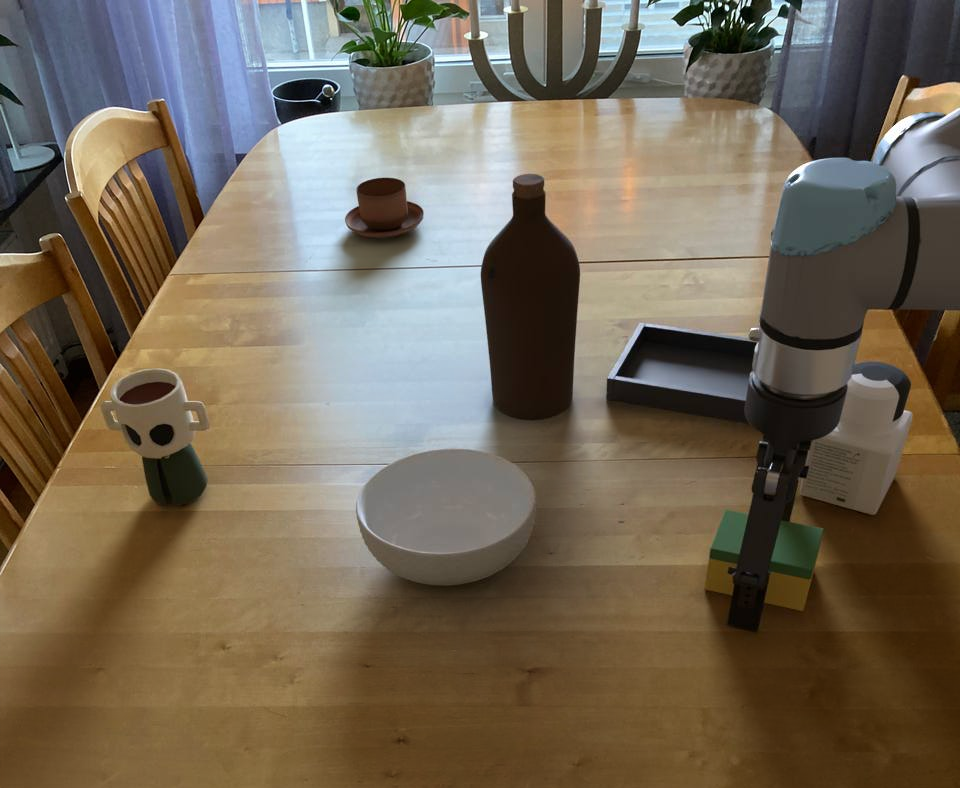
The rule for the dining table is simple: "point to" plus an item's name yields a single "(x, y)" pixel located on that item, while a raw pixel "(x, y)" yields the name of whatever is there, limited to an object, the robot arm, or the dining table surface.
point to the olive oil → (531, 308)
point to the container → (862, 441)
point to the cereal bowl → (447, 515)
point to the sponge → (786, 566)
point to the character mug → (160, 431)
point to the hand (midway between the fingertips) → (758, 578)
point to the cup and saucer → (383, 209)
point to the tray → (684, 371)
